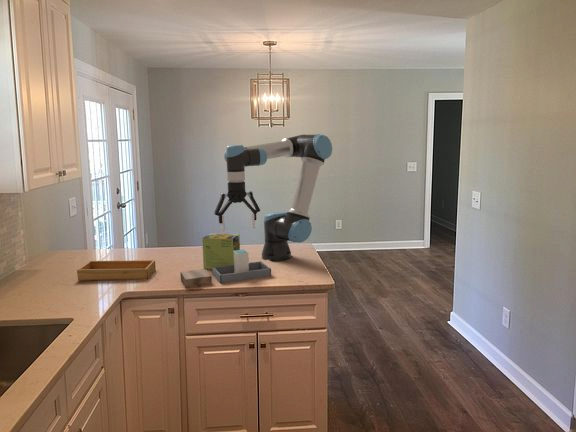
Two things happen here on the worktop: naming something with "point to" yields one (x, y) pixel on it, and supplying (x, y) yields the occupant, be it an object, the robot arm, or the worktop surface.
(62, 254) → the worktop surface
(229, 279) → the bin
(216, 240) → the protein box
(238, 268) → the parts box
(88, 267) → the tray
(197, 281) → the stand
